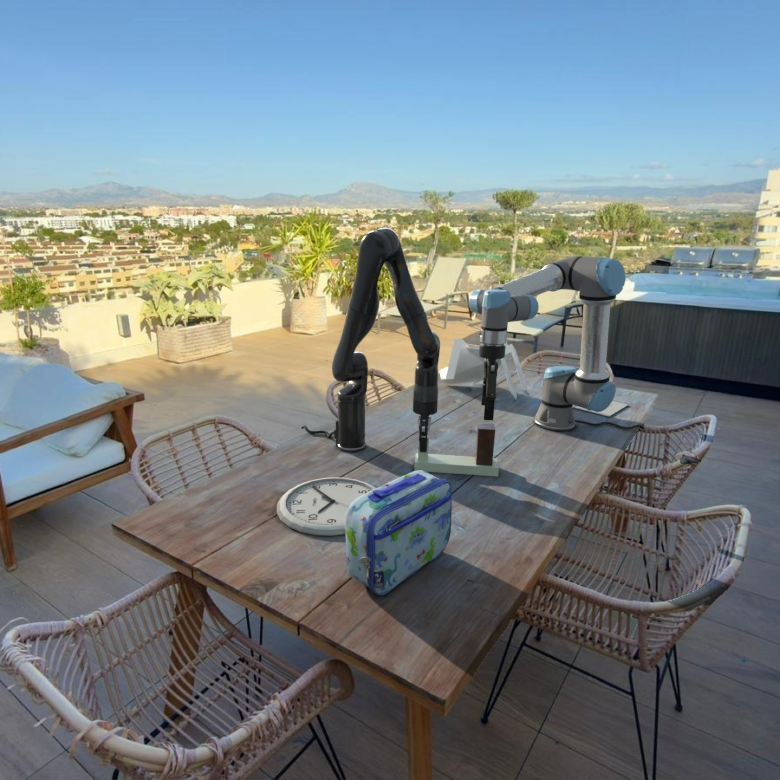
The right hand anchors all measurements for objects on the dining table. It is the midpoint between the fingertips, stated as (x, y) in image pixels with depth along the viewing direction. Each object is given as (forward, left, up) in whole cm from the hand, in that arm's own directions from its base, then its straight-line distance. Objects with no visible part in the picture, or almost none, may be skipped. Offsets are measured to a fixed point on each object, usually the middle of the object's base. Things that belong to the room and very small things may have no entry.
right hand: (487, 412), depth 159 cm
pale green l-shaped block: (+8, 0, -20) cm, 21 cm away
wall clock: (+42, +28, -20) cm, 54 cm away
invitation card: (-54, -71, -20) cm, 92 cm away
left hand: (+19, 0, -13) cm, 23 cm away
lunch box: (+21, +53, -20) cm, 60 cm away
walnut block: (0, 0, -17) cm, 17 cm away
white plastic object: (-3, -83, -20) cm, 85 cm away
